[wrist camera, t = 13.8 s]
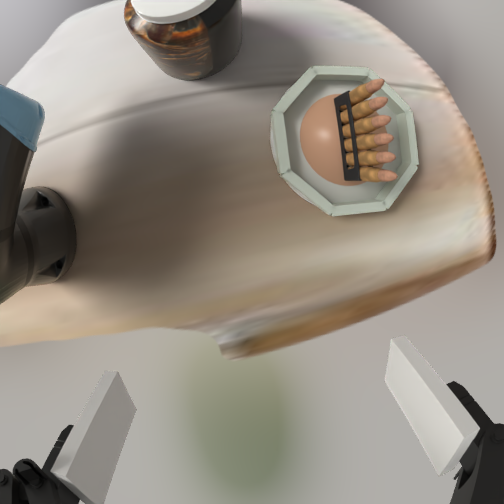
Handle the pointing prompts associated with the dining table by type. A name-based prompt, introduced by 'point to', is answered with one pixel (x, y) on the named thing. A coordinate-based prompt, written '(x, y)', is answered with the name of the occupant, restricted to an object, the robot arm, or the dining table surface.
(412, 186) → the dining table surface
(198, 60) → the jar
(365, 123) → the ammunition clip
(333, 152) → the octagonal tray
